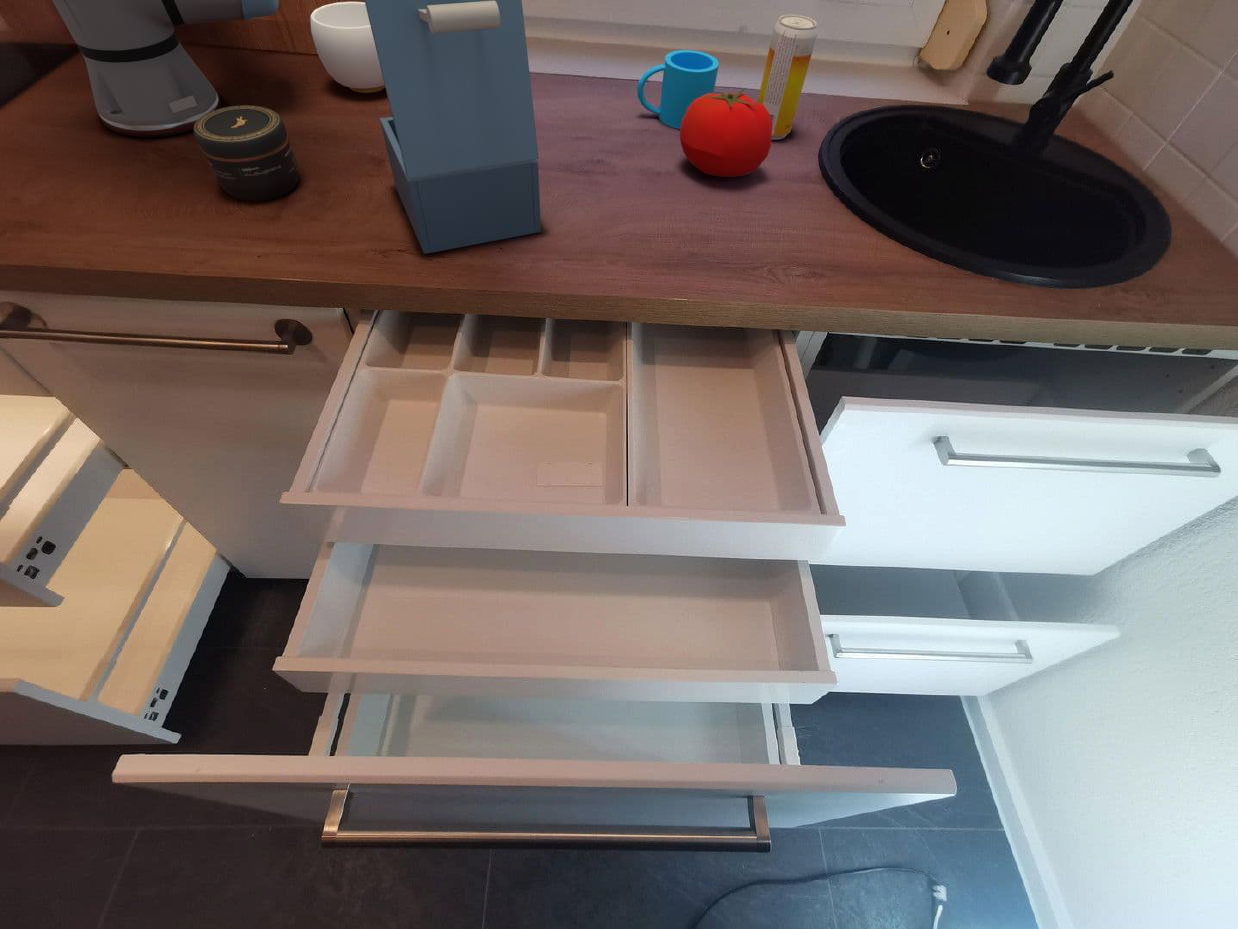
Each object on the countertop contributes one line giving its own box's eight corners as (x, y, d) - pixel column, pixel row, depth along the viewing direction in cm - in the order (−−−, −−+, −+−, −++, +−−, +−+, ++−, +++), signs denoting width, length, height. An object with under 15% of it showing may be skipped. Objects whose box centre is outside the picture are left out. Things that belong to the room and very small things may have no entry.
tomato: (761, 195, 86) (781, 118, 78) (671, 182, 86) (681, 104, 78) (763, 157, 92) (781, 83, 84) (680, 145, 93) (690, 70, 85)
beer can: (793, 129, 99) (824, 18, 87) (783, 144, 95) (813, 32, 84) (757, 119, 100) (782, 9, 88) (746, 134, 97) (770, 22, 85)
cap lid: (359, -18, 55) (371, -14, 50) (516, -27, 59) (543, -24, 54) (406, 177, 66) (420, 198, 60) (536, 157, 70) (560, 175, 65)
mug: (705, 107, 102) (714, 51, 95) (713, 130, 97) (723, 72, 90) (632, 104, 101) (637, 47, 94) (637, 128, 96) (641, 69, 89)
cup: (408, 101, 97) (394, 29, 89) (325, 104, 94) (303, 30, 87) (406, 68, 104) (393, -1, 96) (328, 70, 101) (308, 0, 94)
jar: (295, 158, 84) (274, 98, 78) (311, 194, 79) (289, 133, 73) (215, 172, 81) (186, 110, 75) (226, 210, 76) (196, 147, 70)
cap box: (395, 188, 81) (379, 118, 74) (502, 171, 85) (496, 103, 78) (424, 254, 73) (408, 182, 66) (541, 232, 77) (538, 162, 70)
